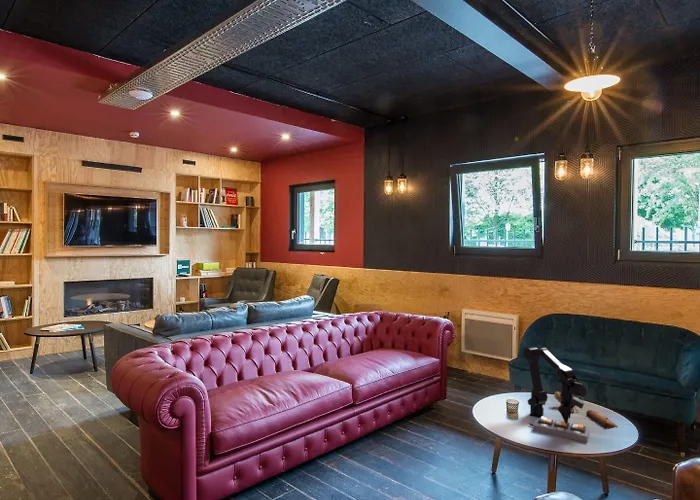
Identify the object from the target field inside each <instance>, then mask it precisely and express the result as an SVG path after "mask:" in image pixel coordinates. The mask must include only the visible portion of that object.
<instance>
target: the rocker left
mask: <svg viewBox="0 0 700 500" xmlns="http://www.w3.org/2000/svg"><path fill="white" fill-rule="evenodd" d="M539 419H540V418H539ZM540 420H541V421H544V422H548V423H551V422H552V420H553V419H550V418H548V417H546V416H544V415H543V416H542V417H541V419H540Z"/></svg>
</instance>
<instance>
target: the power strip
mask: <svg viewBox="0 0 700 500" xmlns="http://www.w3.org/2000/svg"><path fill="white" fill-rule="evenodd" d="M540 419H541V417H539V418H536V420H535V422H534V423H533V422H532V423H531V422H529V426H530V427H531V426H532V427H533V428H532V429H533V431H534V432H539V433H542V434H546V435H547V434H548V435H552V436H557V437H562V438H565V439H569V440H570V439H571V440H575V441H580V442H584V443H588V441H589V438H590V429H589V428H587V426H585V425H584V428H583V429H577V428H572V426H573V424H574V423H571V425H570V423H569V422H568V424H567V426H563V425H558V424H556V422H557V420H555V421H554V419H551V420H552V422H551V423H548V422H544V421H541V420H540Z"/></svg>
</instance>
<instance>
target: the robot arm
mask: <svg viewBox="0 0 700 500" xmlns="http://www.w3.org/2000/svg"><path fill="white" fill-rule="evenodd" d="M523 353H524V354H523V355H524V357H525V360H526V361H527V363H528V364H529V365H528V366H529V371H530V379H531V382H532V390H531V393H530V397H531V398H529V399H528V400H527V404H528V406H530V410H529V412H530V413H529V416H531V417H536V418H540V417H542V416H543V417H544V414H545V412H544V409H545V408H544V407H543V406H545V405H546V402H547V401H548V399H549V398H548V397H549V396H548V391H547V390H545V389H544V388H543V385H542V379H541V373H540V365H539V361H540V358H541V357H542V359H544V360H545V361H546V362H547V363H548V364H549V365H550V366H551V368H553V369H554V371H555V374H556V375H557V377H558V378H559V379H557V382H558V383H560V393H561V394H560V396H561V404H563V405H561V404H559V406H558V407H557V408H558V412H559V414H560V415H561V417H562V419H563V421H565V423H569V419H571V415H572V413H573V412H572V411H573V410H572V408H574V407H575V408H576V407H577V408H579V409H581V410H582V409H583V407H584V406H585V403H586V401H585V400H584V398H585V397H586V395H587V393H588V392H587V388H586V387H585V386H584V383H580V382H579V379H578V378H577V376H576V374H575V371H574V370H573V369H572V368H571V367H569V366H567V365H565V364H563V363H561V361H560V360H558V359H557V358H556V357H555V356H554V355H553V354H552V353H551V352H550V351H549V350H548V348H546V347H539V348H537V347H535V346H533V347H526V348H525V349H524V351H523ZM576 396H577V397H576Z"/></svg>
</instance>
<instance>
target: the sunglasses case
mask: <svg viewBox="0 0 700 500" xmlns="http://www.w3.org/2000/svg"><path fill="white" fill-rule="evenodd" d="M586 416H588V417H589V418H592V419H593V420H594V421H596V422H598V423H599V424H600V425H602V426H603V427H605V428H606V429H615V428H614V427H616V428H619V426H618V425H617V423H615V422H614V421H612V420H611V419H610V418H609V417H607V416H606V415H604V414H602V413H600V412H598V411H595V410H592V409H591V410H590V409H588V410H587V411H586Z"/></svg>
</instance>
